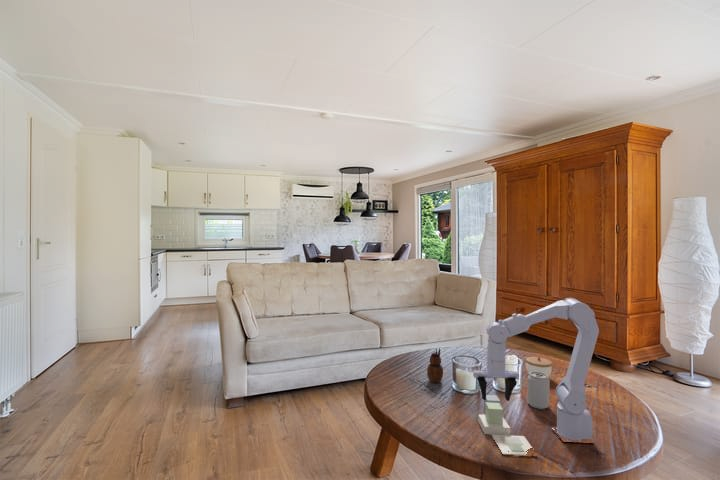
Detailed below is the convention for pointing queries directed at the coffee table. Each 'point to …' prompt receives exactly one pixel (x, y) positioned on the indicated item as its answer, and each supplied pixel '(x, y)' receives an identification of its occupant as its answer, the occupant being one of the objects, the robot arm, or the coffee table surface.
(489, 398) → the slate block
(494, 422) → the sage block
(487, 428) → the white square slab
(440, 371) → the wooden figurine
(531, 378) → the can
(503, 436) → the tile
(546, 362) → the lidded jar
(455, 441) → the coffee table surface
